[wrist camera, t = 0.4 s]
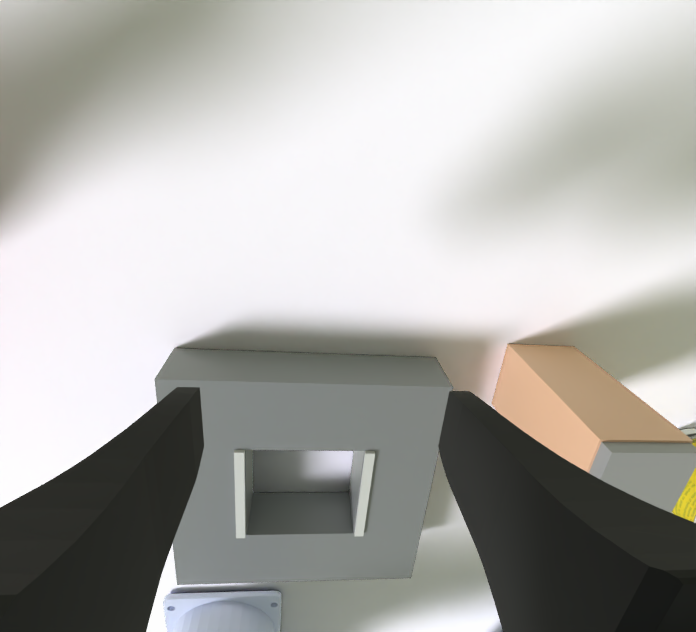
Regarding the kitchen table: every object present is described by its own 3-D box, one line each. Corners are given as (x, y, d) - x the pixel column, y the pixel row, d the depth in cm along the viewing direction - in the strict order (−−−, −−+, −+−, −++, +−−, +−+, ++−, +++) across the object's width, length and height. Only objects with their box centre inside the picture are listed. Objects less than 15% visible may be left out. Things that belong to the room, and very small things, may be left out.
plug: (554, 404, 25) (666, 526, 17) (491, 403, 25) (577, 527, 17) (574, 346, 24) (706, 451, 16) (507, 343, 23) (610, 450, 15)
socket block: (401, 535, 28) (411, 581, 26) (190, 538, 27) (176, 588, 24) (435, 357, 23) (454, 389, 20) (174, 348, 21) (153, 381, 18)
